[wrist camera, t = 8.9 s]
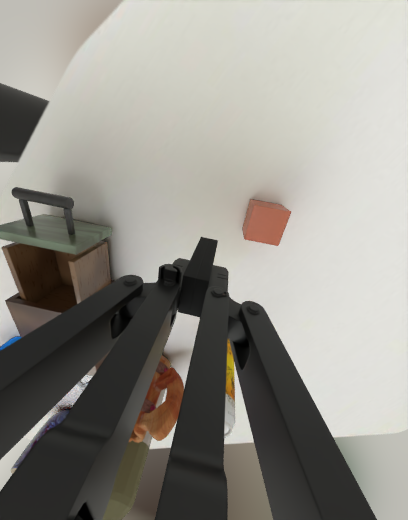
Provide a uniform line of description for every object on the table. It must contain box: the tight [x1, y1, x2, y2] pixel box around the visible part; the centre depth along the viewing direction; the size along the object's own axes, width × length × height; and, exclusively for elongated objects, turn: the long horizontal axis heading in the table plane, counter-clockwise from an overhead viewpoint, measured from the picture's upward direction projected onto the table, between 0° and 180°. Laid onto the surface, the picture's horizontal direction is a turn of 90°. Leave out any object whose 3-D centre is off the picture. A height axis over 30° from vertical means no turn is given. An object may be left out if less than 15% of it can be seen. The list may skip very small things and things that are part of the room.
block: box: [242, 199, 291, 246], centre depth 24 cm, size 4×4×4 cm
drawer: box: [0, 187, 112, 310], centre depth 28 cm, size 18×11×8 cm, turn 171°
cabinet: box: [5, 280, 114, 376], centre depth 34 cm, size 15×13×10 cm
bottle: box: [102, 389, 165, 520], centre depth 35 cm, size 7×7×30 cm
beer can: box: [224, 339, 235, 438], centre depth 32 cm, size 6×6×15 cm
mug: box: [129, 355, 184, 443], centre depth 37 cm, size 15×8×15 cm, turn 118°
